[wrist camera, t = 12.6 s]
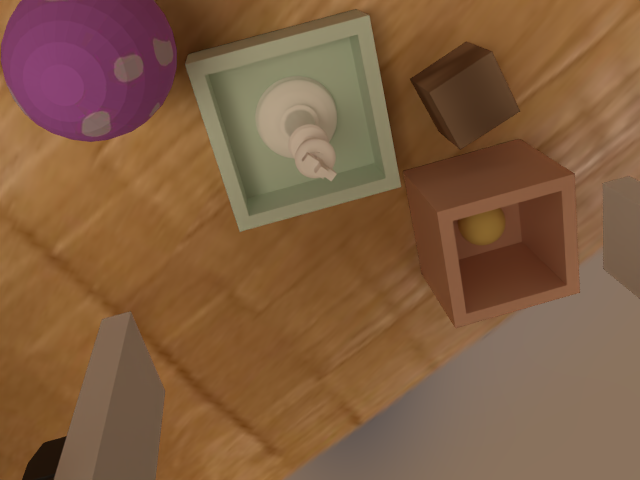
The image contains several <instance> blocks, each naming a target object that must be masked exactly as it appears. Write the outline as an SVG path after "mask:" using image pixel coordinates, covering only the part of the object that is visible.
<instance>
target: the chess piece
mask: <svg viewBox="0 0 640 480" xmlns="http://www.w3.org/2000/svg"><path fill="white" fill-rule="evenodd" d="M255 121H256V127H257V130H258V133H259V135H260V137H261V139H262V140H263V142H264V143H265V144H266V145H267V146H268V147H269V148H270V149H271V150H272V151H274V152H275V153H277V154H279V155H281V156H283V157H287V158H292V159H295V164H296V167H297V169H298V170H299V172H300V173H301V174H303V175H304V176H306V177H309V178H320V177H321V178H322V179H323V178H324V177H325V178H327V179H328V180H330V181H332V180H333V179H334V177H335V176H336V175H337V173H336V172H335V171H334V170H333V169H332V168H333V167H334V164H335V160H336V155H335V151H334V149H333V147H332V146H331V144H330V143H329V142H330V140H331V139H332V137H333V135H334V132H335V130H336V125H337V110H336V105H335V102H334V100H333V97H332V96H331V94H330V93H329V91H328V90H327V89H326V88H325V87H324V86H323V85H322V84H321V83H319V82H317V81H316V80H314V79H311V78H308V77H304V76H290V77H286V78H283V79H280V80H278V81H276V82H275V83H273V84H272V85H271V86H269V87H268V88H267V89H266V90H265V92H264V93H263V94H262V96H261V97H260V99H259V102H258V104H257V108H256V113H255Z"/></svg>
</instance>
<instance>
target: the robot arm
mask: <svg viewBox="0 0 640 480" xmlns="http://www.w3.org/2000/svg"><path fill="white" fill-rule="evenodd" d="M603 261H604V262H603V265H604V266H603V267H604V268H603V269H604V270H605V271H607V272H608V273H609V274H610V275H612V276H613V277H614V278H615V279H616V280H617V281H619V282H620V283H621V284H622V285H624V286H625V287H626V288H627V289H628V290H630V291H631V292H632V293H633V294H635V295H636V296H637V297H638V298H639V299H640V181H638V180H636V179H634V178H632V177H630V176H627V177H623V178H620V179H616V180H612V181H609V182H605V183H603ZM164 397H165V389H164V387H163V385H162V382H161V380H160V378H159V376H158V373H157V371H156V369H155V366H154V364H153V362H152V359H151V357H150V355H149V352H148V350H147V348H146V346H145V343H144V341H143V339H142V336H141V334H140V332H139V329H138V327H137V325H136V322H135V320H134V318H133V316H132V313H131V311H130V312H127V313H123V314H119V315H116V316H112V317H108V318H105V319H102V321H101V325H100V328H99V331H98V335H97V338H96V341H95V345H94V348H93V351H92V355H91V358H90V361H89V364H88V368H87V371H86V374H85V378H84V381H83V384H82V388H81V391H80V394H79V398H78V401H77V404H76V408H75V411H74V414H73V417H72V421H71V424H70V427H69V431H68V434H67V436H66V437H62V438H59V439H55V440H52V441H48V442H45V443H43V444H42V446H41V447H40V448H39V450H38V451H37V452H36V453H35V455H34V456H33V457H32V459H31V460H30V461H29V463H28V465H27V467H26V470H25V473H24V476H23V479H22V480H155V478H156V469H157V460H158V451H159V442H160V433H161V424H162V415H163V406H164Z"/></svg>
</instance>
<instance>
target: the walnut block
mask: <svg viewBox="0 0 640 480" xmlns="http://www.w3.org/2000/svg"><path fill="white" fill-rule="evenodd" d="M410 80H411V82H412V84H413V85H414V87H415V89H416V91H417V93H418V95H419V96H420V98H421V100H422V102H423V104H424V105H425V107H426V109H427V111H428V113H429V115H430V116H431V118H432V120H433V122H434V124H435V125H436V127H437V129H438V131H439V132H440V133H441V134H442V135H444V136H445V137H446V138H447V139H448V140H449V141H451V142H452V143H453V144H454V145H455V146H457V147H458V148H459V149H462V148H464V147H465V146H467V145H468V144H470V143H471V142H473V141H475V140H476V139H478V138H479V137H481V136H482V135H484V134H485V133H487V132H489V131H490V130H492V129H493V128H495V127H496V126H498V125H499V124H501V123H503V122H504V121H506V120H507V119H509V118H510V117H512V116H514V115H515V114H517V113H518V112H520V110H519V108H518V106H517V104H516V101H515V99H514V97H513V95H512V93H511V91H510V89H509V87H508V84H507V82H506V80H505V78H504V76H503V74H502V72H501V70H500V68H499V65H498V63H497V61H496V59H495V57H494V55H493V53H492V51H489V50H487V49H484V48H482V47H479V46H476V45H474V44H471V43H469V42H465V43H463V44H462V45H460V46H459V47H457V48H456V49H454V50H453V51H451V52H450V53H448V54H447V55H445V56H444V57H442V58H441V59H439V60H438V61H436V62H435V63H433V64H432V65H430V66H429V67H427V68H426V69H424V70H423V71H421V72H420V73H418V74H417V75H415V76H414V77H412V78H411V79H410Z"/></svg>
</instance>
